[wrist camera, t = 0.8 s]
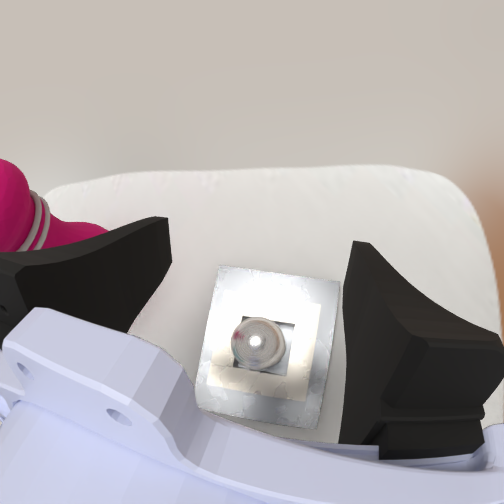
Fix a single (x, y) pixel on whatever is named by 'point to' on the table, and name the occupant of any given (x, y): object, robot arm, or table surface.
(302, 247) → the table surface
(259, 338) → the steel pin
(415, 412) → the robot arm
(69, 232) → the pepper mill
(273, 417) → the hitch plate
